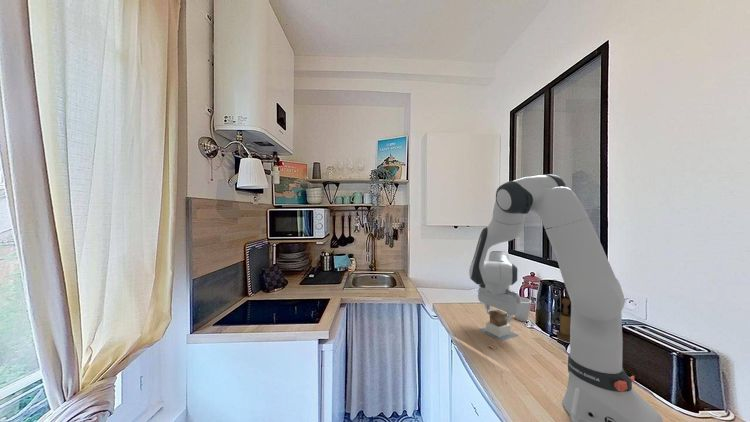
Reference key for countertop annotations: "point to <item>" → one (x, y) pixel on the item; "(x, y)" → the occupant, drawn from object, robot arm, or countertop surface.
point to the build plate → (497, 336)
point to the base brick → (498, 329)
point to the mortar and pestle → (565, 322)
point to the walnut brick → (498, 318)
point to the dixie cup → (524, 309)
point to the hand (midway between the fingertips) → (498, 317)
